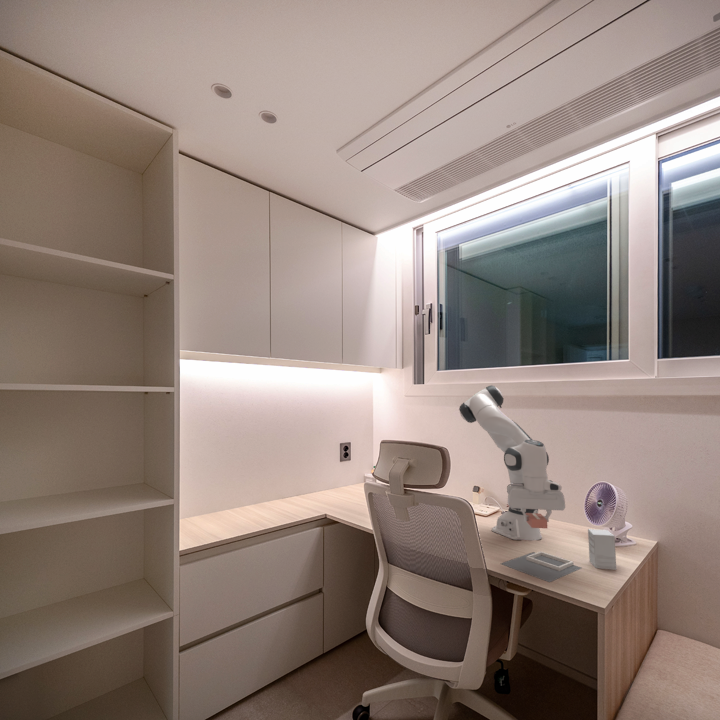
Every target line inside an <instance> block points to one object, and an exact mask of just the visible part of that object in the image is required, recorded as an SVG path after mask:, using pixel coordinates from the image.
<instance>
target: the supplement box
mask: <svg viewBox="0 0 720 720" xmlns="http://www.w3.org/2000/svg"><path fill="white" fill-rule="evenodd" d="M587 536H588V537H587V539H588V556H589V557H588V558H589V562H590V564H592V566H593V567H594V568H595V569H602V570H614V571H617V556H616V554H617V553H616V541H615V540H616V539H615V537H616V536H615V535H614V534H613V533H612V532H611V531H609V530H608V529H596V528H595V529H594V528H588V529H587Z"/></svg>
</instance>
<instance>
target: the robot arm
mask: <svg viewBox="0 0 720 720" xmlns="http://www.w3.org/2000/svg"><path fill="white" fill-rule="evenodd" d="M503 404H504V395H503V392H502V391H501V390H500V389H499V388H498V387H497V386H495V385H493V384H491V385H488V386H486V387H484V388H483V389H481V390H480V391H477V392H476V393H474V395H472V396H471V397H470V398H468V399H467V400H466V401H465V402H463V403H461V404H460V406H459V409H458V411H459V414H460V416H461V418H462V419H463V420H464V421H465V422H467V423H470V424H473V423H475V422H477V423H478V425H479V426H480V428H482V429H483V430H484V431H486V432H487V434H488V435H489V436H490V438H491V440H492V441H493V442H494V444H495V445H496V447H497V448H498V449H499V450H501V451H502V452H503V453H504V454H503V462H504V465H505V467H506V469H507V472H508V478H509V484H508V485H507V486H506V490H507V491H506V492H507V494H508V495H507V504H506V508H508V510H507V511H505V512H504V513H502V514H501V515H500V516H498V517H497V519H496V525H494V526H493V527H492V528H491V531H492V532H493V533H497V534H498V535H501V536H503V537H506V538H508V539H511V540H515V541H516V540H517V541H519V540H522V541H523V540H524V541H540V540H541V539H542V538H543V536H542V533H541V530H540V529H541V528H532V527H531V526H530V525H529V524H528V523H527V522H526V521H529V516H528V515H526V513H539V511H540V510H543V511H545V512H546V514H545V515H543V516H544V517H545V518H546V519H547V523H549V522H550V521H549V520H550V516H551V515H552V511H564V510H565V509H566V501H565V496H564V493H563V492H562V485H561V484H559V483H558V482H556V481H552V480H551V479H549V477H548V476H549V475H548V472H547V467H548V465H549V460H550V458H549V454H548V452H547V448H546V445H545V444H544V443H543V442H542V441H539V440H534V439H533V438H532V437H531V436H530V435H528V433H527V432H526V431H525V430H524V429H523V428H522V427H521V426H520V425H519V424H518V423H517V422H515V421H514V420H513V419H511V418H510V417H509V416H507V415H506V414H505V413H504V412H503V411H502V410H501V409H502V405H503Z"/></svg>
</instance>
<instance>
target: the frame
mask: <svg viewBox="0 0 720 720" xmlns="http://www.w3.org/2000/svg"><path fill="white" fill-rule="evenodd" d="M541 555H542V556H545V557H548V558H551V559H554V560H557V561H560V562H563V563H566V564H563V565H561V566H559V567H558V566H555V565H552V564H549V563H546V562H543V561H540V560H537V559H535V557H538V556H541ZM526 560H529V561H532V562H535V563H538V564H540V565H543V566H546V567H549V568H552V569H555V570H558V571H561V570H563V569H565V568H568V567H570V566H572V565H574V561H572V560H569V559H566V558H562V557H559V556H557V555H553V554H550V553H547V552H544V551H538V552H535V554H532V555H529V556H526Z"/></svg>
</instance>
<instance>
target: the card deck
mask: <svg viewBox="0 0 720 720" xmlns="http://www.w3.org/2000/svg"><path fill="white" fill-rule="evenodd" d="M526 515H528V516H529V521H526V522H527V523H528V524H529V525H530V526H531V527H532V528H539V529H548V522H547V519H546V518H545V517H544V516H545V515H542V513H539V512H538V513H526Z"/></svg>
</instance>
